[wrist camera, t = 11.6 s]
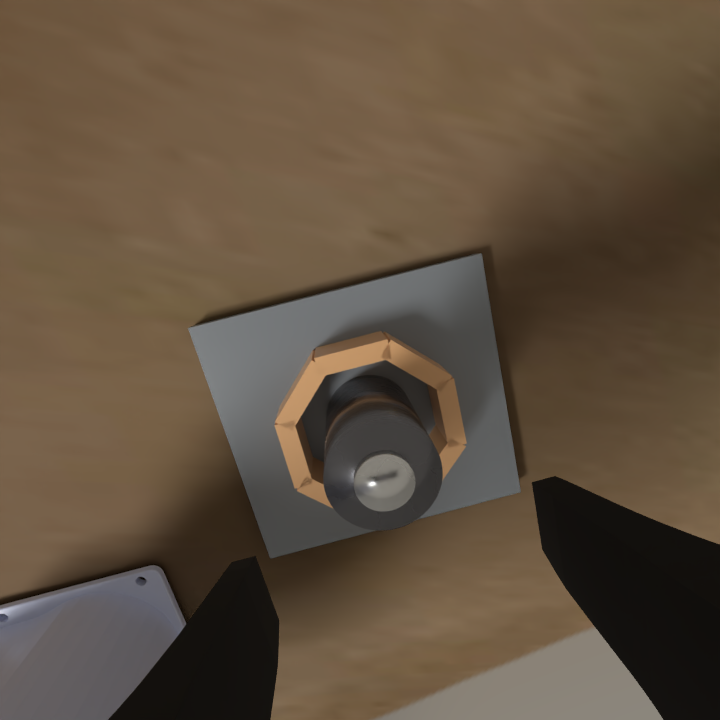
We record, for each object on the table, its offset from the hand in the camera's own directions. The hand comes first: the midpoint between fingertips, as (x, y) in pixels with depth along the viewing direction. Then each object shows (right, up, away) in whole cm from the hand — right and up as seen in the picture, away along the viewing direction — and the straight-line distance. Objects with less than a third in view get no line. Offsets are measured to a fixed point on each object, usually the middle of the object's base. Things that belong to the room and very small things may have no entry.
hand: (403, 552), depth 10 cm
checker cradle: (-1, +2, +10) cm, 10 cm away
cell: (-1, +2, +9) cm, 9 cm away
